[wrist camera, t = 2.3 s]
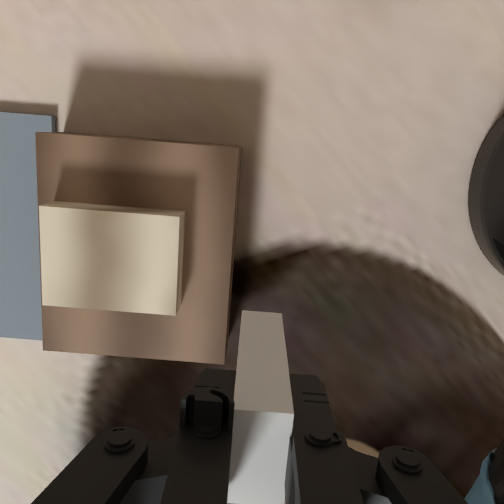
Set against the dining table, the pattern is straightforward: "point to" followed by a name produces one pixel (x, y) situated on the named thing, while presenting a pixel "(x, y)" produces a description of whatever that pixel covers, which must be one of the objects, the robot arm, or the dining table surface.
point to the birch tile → (111, 257)
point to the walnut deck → (154, 197)
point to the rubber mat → (20, 225)
